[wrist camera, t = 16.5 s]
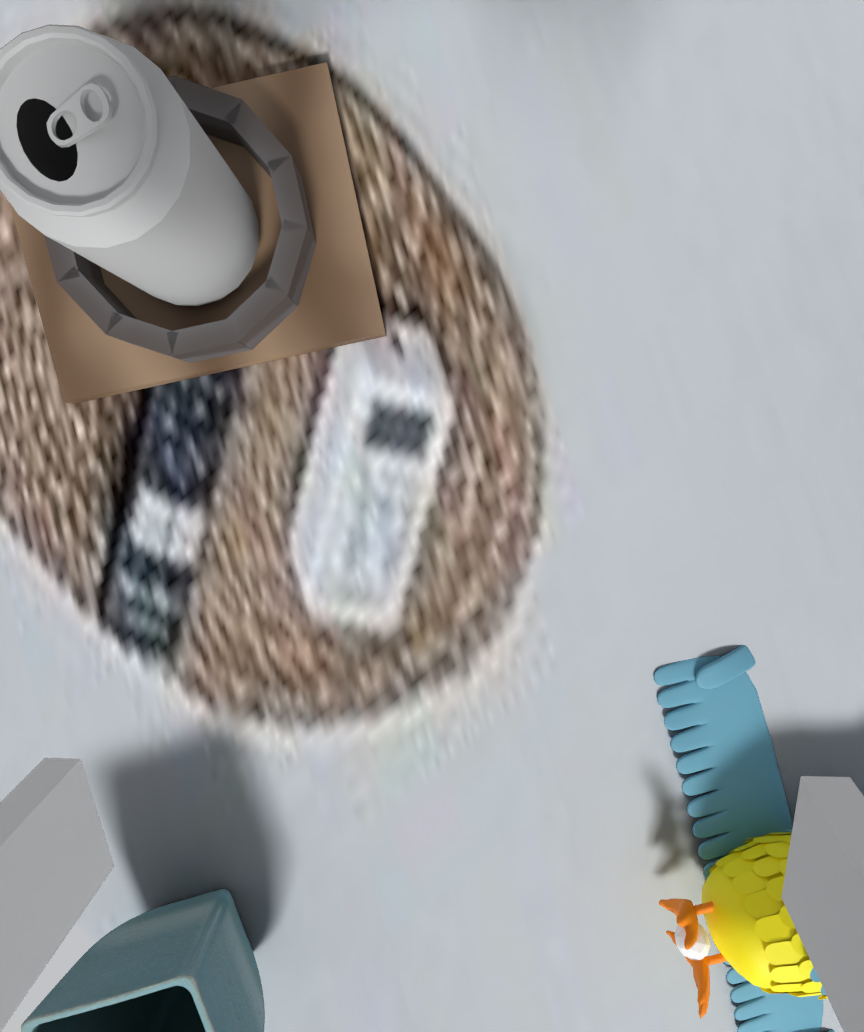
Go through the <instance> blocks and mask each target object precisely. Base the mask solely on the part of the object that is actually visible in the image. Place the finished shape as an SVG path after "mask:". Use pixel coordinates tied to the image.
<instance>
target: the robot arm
mask: <svg viewBox="0 0 864 1032" xmlns="http://www.w3.org/2000/svg"><path fill="white" fill-rule="evenodd" d="M113 867H114V864H113V861H112V858H111V855H110V851H109V848H108V845H107V842H106V839H105V835H104V832H103V829H102V826H101V822H100V819H99V816H98V813H97V810H96V806H95V803H94V800H93V797H92V794H91V790H90V787H89V784H88V781H87V777H86V774H85V771H84V768H83V765H82V761H81V759H65V758H44V759H43V760H42V761H41V762H40V763H39V764H38V765H37V766H36V767H35V768H34V769H33V770H32V771H31V772H30V773H29V774H28V775H27V776H26V777H25V778H24V779H23V780H22V781H21V782H20V783H19V784H18V785H17V786H16V787H15V788H14V789H13V790H12V791H11V792H10V793H9V794H8V795H7V796H6V797H5V798H4V799H3V800H2V801H1V802H0V1032H1V1031H2V1029H3V1028H4V1026H5V1025H6V1023H7V1022H8V1020H9V1019H10V1018H11V1016H12V1015H13V1013H14V1012H15V1010H16V1009H17V1007H18V1006H19V1005H20V1003H21V1002H22V1000H23V999H24V997H25V996H26V994H27V993H28V991H29V990H30V988H31V987H32V986H33V984H34V983H35V981H36V980H37V978H38V977H39V975H40V974H41V972H42V971H43V969H44V968H45V967H46V965H47V964H48V962H49V961H50V959H51V958H52V956H53V955H54V953H55V952H56V950H57V949H58V947H59V946H60V945H61V943H62V942H63V940H64V939H65V937H66V936H67V934H68V933H69V931H70V930H71V929H72V927H73V926H74V924H75V923H76V921H77V920H78V918H79V917H80V915H81V914H82V912H83V911H84V910H85V908H86V907H87V905H88V904H89V902H90V901H91V899H92V898H93V896H94V895H95V893H96V892H97V891H98V889H99V888H100V886H101V885H102V883H103V882H104V880H105V879H106V877H107V876H108V874H109V873H110V872H111V870H112V869H113ZM781 898H782V900H783V902H784V904H785V906H786V909H787V911H788V913H789V915H790V917H791V919H792V921H793V924H794V926H795V928H796V930H797V932H798V934H799V937H800V939H801V941H802V943H803V945H804V947H805V949H806V952H807V954H808V956H809V958H810V960H811V962H812V964H813V967H814V969H815V971H816V973H817V975H818V977H819V980H820V982H821V984H822V986H823V988H824V990H825V992H826V995H827V997H828V999H829V1001H830V1003H831V1005H832V1008H833V1010H834V1012H835V1014H836V1016H837V1018H838V1020H839V1023H840V1025H841V1027H842V1029H843V1031H844V1032H864V796H863V794H862V793H861V792H860V790H859V789H858V787H857V786H856V785H855V783H854V782H853V781H852V779H851V778H850V777H825V776H801V778H800V785H799V791H798V797H797V803H796V810H795V816H794V822H793V828H792V835H791V841H790V847H789V853H788V859H787V866H786V872H785V878H784V884H783V891H782V897H781Z"/></svg>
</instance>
